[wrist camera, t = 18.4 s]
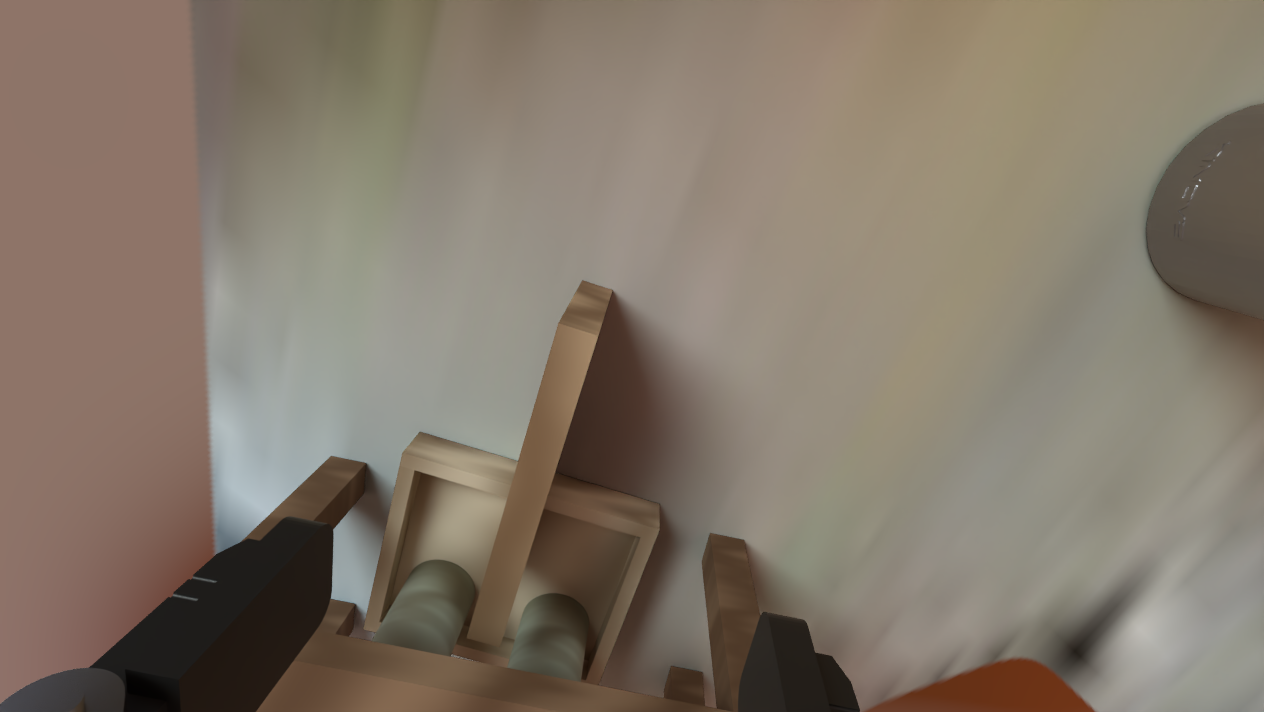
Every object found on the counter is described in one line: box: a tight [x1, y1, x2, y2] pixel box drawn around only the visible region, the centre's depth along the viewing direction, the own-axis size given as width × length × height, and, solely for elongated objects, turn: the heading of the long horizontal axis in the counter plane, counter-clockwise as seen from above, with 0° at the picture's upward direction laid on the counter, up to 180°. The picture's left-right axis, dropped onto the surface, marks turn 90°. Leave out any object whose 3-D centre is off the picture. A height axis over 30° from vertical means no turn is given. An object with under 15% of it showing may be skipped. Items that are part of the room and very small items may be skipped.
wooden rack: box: [241, 456, 760, 712], centre depth 31 cm, size 24×12×14 cm, turn 78°
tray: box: [363, 280, 660, 685], centre depth 32 cm, size 14×23×8 cm, turn 162°
